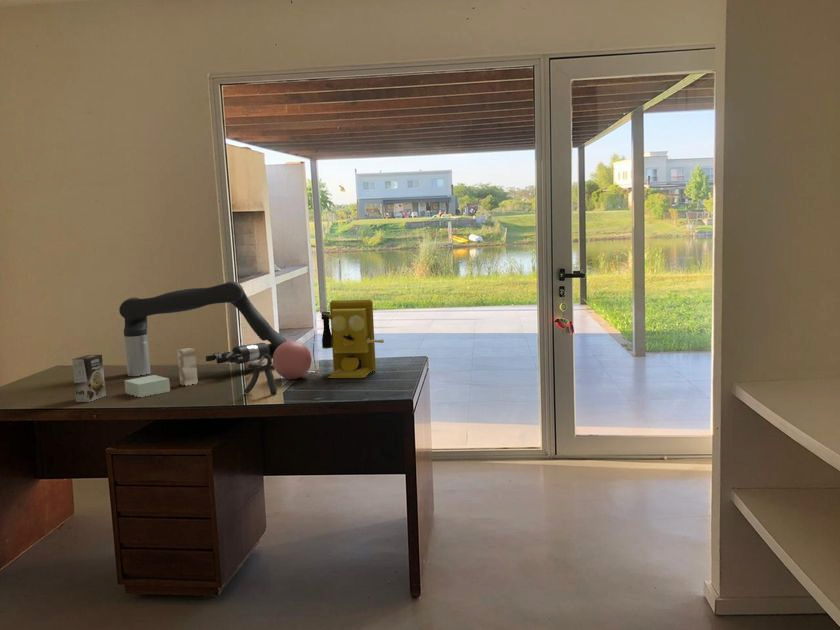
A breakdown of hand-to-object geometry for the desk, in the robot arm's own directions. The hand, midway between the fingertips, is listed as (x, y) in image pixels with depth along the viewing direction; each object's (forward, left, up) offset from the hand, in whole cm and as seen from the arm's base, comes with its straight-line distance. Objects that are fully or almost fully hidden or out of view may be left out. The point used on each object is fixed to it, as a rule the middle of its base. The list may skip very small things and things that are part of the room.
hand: (211, 360), depth 287 cm
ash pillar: (0, -11, -8) cm, 13 cm away
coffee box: (-8, -46, -8) cm, 47 cm away
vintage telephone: (+42, +36, -8) cm, 56 cm away
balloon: (+27, +21, -8) cm, 35 cm away
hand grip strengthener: (+40, -4, -8) cm, 41 cm away
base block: (0, -28, -8) cm, 29 cm away
